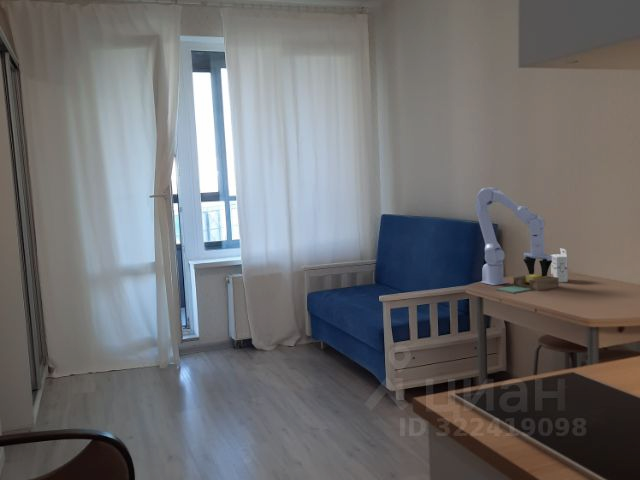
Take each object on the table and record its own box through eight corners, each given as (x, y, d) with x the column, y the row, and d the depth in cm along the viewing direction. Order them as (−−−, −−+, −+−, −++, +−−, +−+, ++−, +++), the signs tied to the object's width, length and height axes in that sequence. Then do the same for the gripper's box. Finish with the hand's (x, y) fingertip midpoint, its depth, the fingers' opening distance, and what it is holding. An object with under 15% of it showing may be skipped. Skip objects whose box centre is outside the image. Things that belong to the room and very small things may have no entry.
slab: (525, 281, 273) (525, 275, 273) (539, 279, 277) (539, 273, 276) (532, 283, 269) (532, 276, 269) (546, 280, 273) (546, 274, 273)
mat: (496, 290, 270) (496, 288, 270) (514, 287, 274) (514, 285, 274) (512, 293, 261) (512, 292, 261) (530, 290, 265) (530, 288, 265)
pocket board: (513, 286, 277) (513, 277, 276) (534, 282, 282) (534, 273, 282) (537, 290, 264) (537, 281, 264) (558, 286, 270) (558, 277, 269)
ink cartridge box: (550, 279, 288) (549, 248, 286) (561, 278, 287) (560, 247, 286) (557, 282, 279) (556, 250, 277) (568, 282, 279) (567, 249, 277)
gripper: (518, 244, 277) (519, 274, 278) (543, 246, 264) (543, 278, 265) (530, 242, 280) (531, 272, 281) (555, 245, 267) (555, 276, 268)
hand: (537, 275), depth 273 cm, fingers open, 7 cm apart
